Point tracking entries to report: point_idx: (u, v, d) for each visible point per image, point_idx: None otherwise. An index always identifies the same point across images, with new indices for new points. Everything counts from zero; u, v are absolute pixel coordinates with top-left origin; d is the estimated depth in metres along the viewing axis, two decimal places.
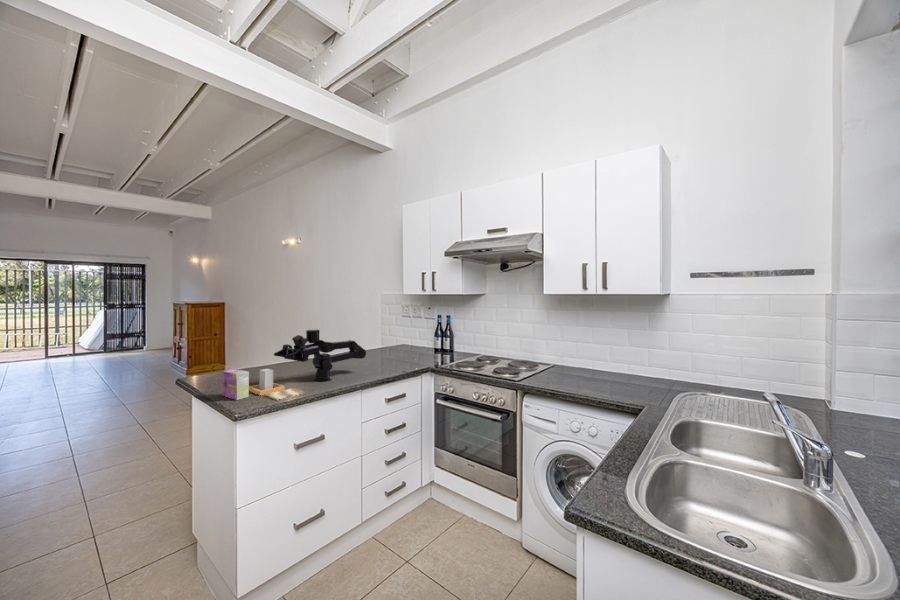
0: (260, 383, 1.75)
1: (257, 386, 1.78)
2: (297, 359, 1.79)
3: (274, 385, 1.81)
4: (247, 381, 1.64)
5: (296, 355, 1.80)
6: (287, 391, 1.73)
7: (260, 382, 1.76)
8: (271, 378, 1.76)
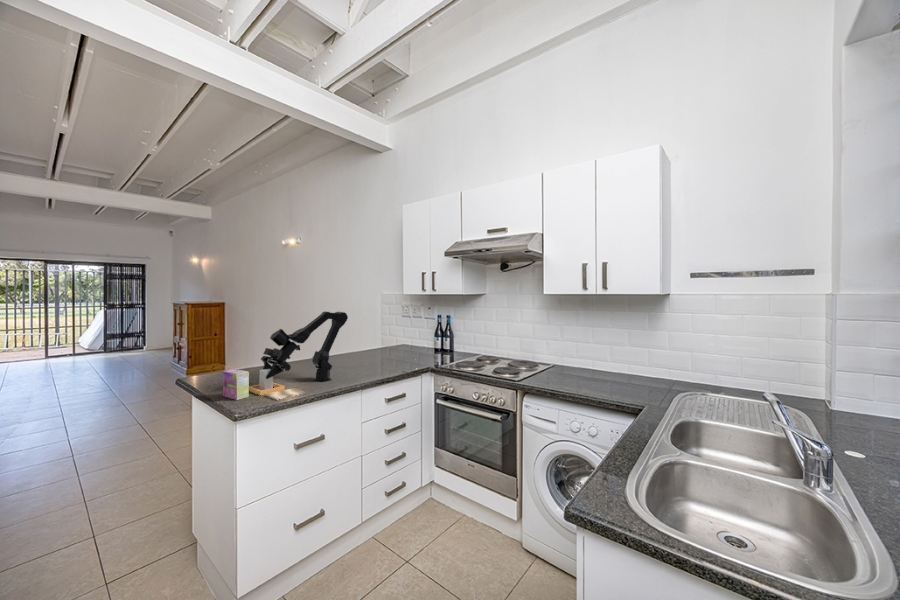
0: (260, 383, 1.75)
1: (257, 386, 1.78)
2: (279, 371, 1.77)
3: (274, 385, 1.81)
4: (247, 381, 1.64)
5: (275, 369, 1.76)
6: (287, 391, 1.73)
7: (260, 382, 1.76)
8: (271, 378, 1.76)
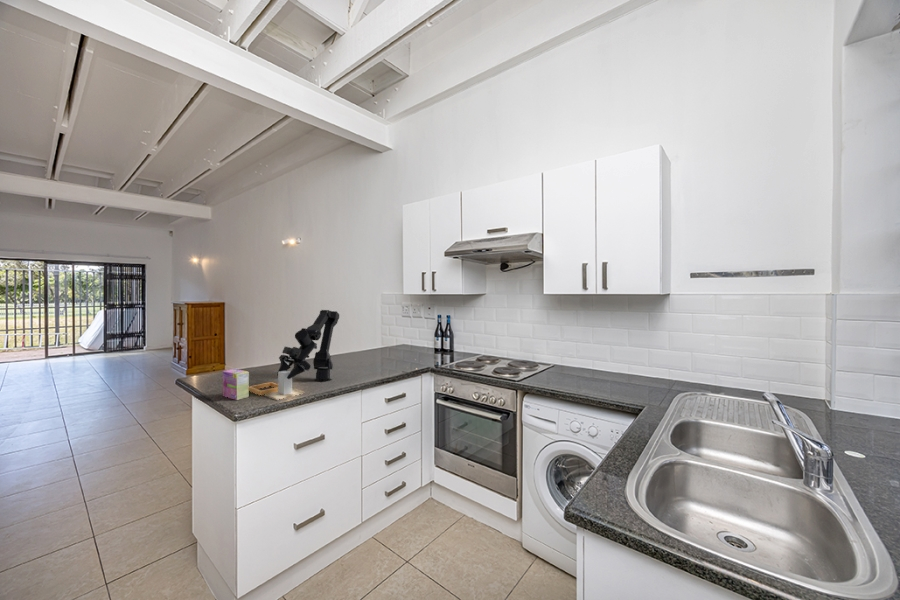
0: (279, 385, 1.70)
1: (257, 386, 1.78)
2: (300, 371, 1.70)
3: (274, 385, 1.81)
4: (247, 381, 1.64)
5: (297, 369, 1.69)
6: None
7: (279, 384, 1.70)
8: (290, 380, 1.70)
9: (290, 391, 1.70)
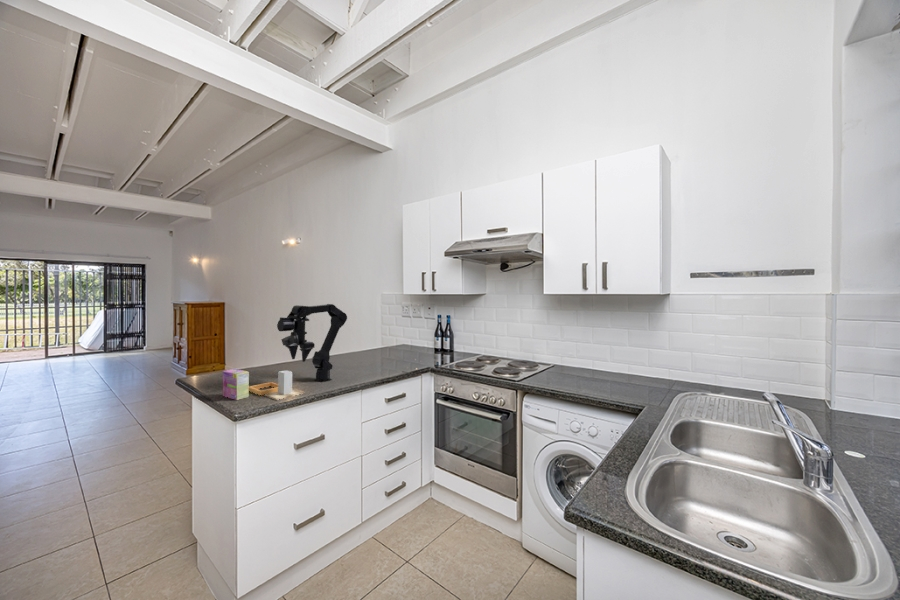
0: (279, 385, 1.70)
1: (257, 386, 1.78)
2: (309, 350, 1.84)
3: (274, 385, 1.81)
4: (247, 381, 1.64)
5: (305, 350, 1.83)
6: None
7: (279, 384, 1.70)
8: (290, 380, 1.70)
9: (290, 391, 1.70)
